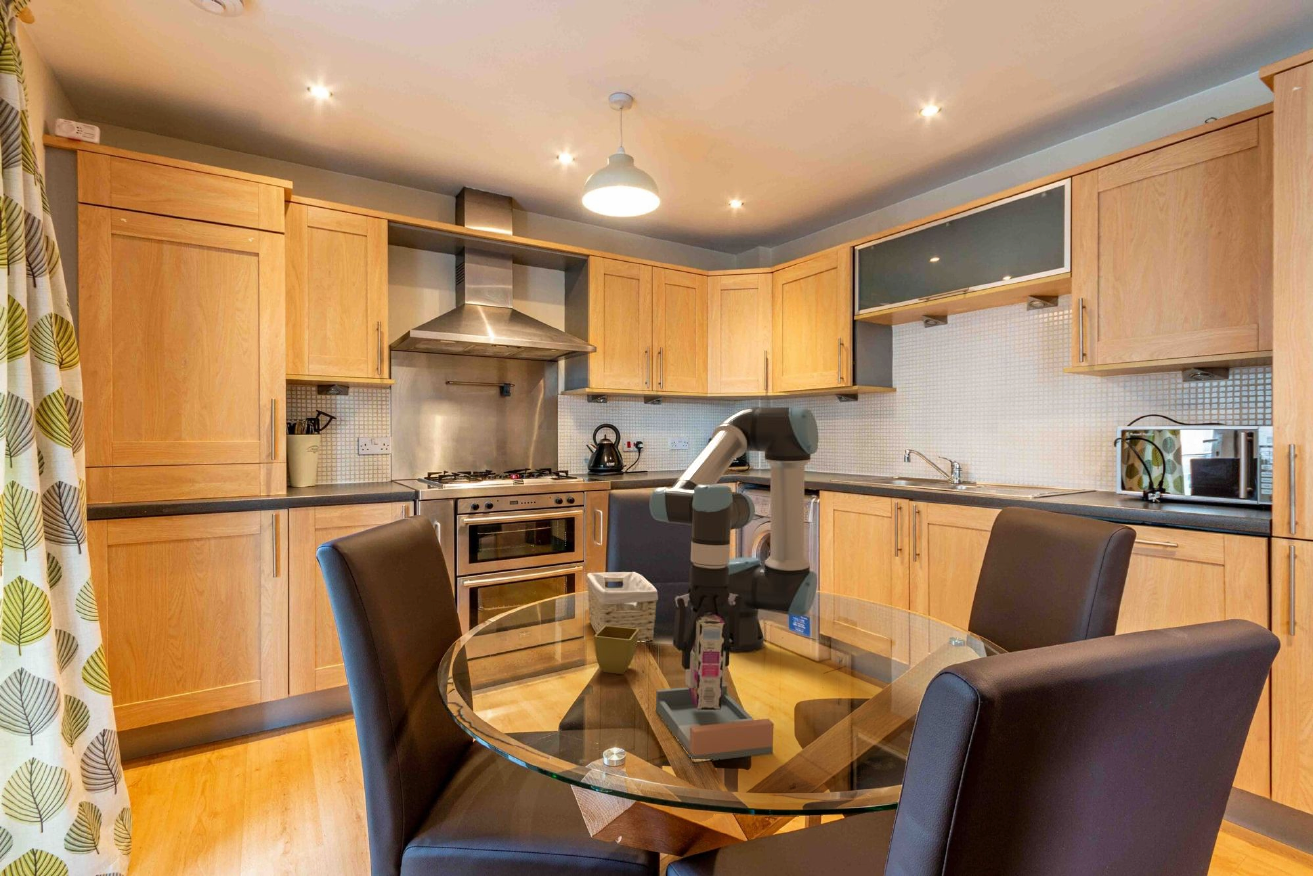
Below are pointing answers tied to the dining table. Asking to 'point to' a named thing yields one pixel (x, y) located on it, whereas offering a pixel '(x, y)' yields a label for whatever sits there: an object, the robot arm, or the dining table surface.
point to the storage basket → (622, 602)
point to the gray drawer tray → (713, 726)
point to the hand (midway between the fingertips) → (704, 683)
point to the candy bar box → (708, 662)
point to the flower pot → (615, 648)
